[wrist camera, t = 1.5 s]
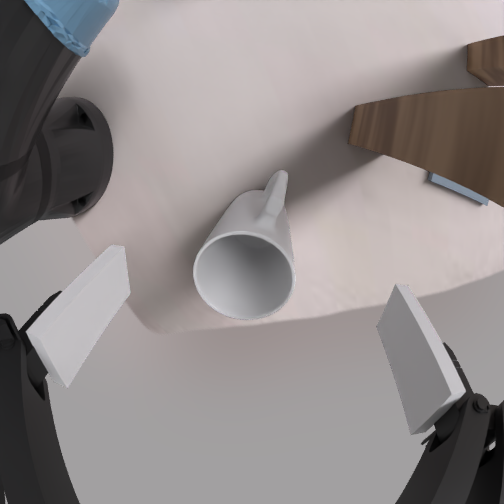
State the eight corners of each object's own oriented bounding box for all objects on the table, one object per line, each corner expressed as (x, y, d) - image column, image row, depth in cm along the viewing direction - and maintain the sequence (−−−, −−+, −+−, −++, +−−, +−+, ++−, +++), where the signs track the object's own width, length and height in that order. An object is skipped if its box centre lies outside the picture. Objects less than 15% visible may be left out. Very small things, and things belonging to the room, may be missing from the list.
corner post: (347, 143, 24) (522, 218, 4) (355, 105, 22) (542, 88, 3) (383, 154, 24) (564, 247, 4) (391, 117, 22) (586, 147, 2)
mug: (273, 257, 30) (268, 332, 19) (216, 233, 30) (182, 298, 19) (314, 174, 26) (340, 210, 15) (251, 146, 25) (230, 162, 14)
